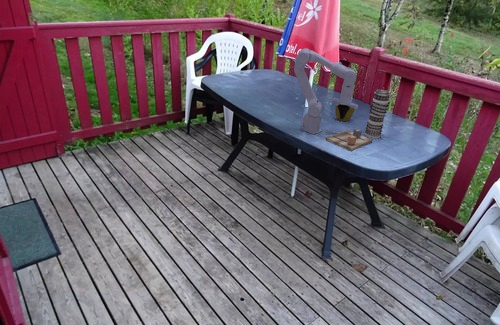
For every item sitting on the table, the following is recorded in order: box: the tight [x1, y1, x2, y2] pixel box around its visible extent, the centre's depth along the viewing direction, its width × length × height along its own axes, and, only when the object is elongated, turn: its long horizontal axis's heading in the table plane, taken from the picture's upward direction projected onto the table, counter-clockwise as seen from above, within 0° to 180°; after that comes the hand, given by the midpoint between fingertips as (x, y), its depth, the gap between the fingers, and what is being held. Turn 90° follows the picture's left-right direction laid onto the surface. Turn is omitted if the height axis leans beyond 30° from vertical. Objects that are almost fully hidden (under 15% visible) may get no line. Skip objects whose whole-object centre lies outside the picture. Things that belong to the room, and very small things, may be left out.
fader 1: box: [347, 135, 357, 144], centre depth 180 cm, size 3×3×4 cm
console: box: [325, 129, 373, 152], centre depth 187 cm, size 16×19×2 cm
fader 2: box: [352, 128, 363, 138], centre depth 188 cm, size 3×3×4 cm
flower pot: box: [334, 103, 356, 122], centre depth 214 cm, size 9×9×9 cm
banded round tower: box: [364, 88, 391, 139], centre depth 191 cm, size 9×9×25 cm
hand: (342, 118), depth 190 cm, fingers closed
